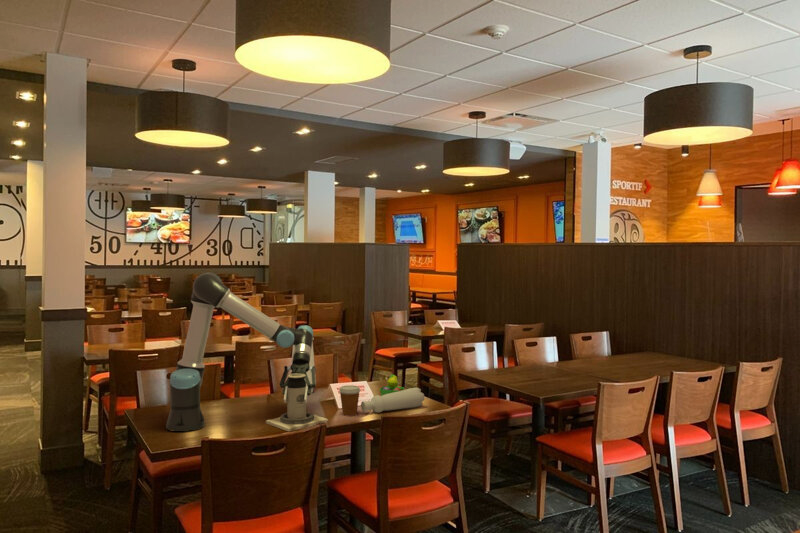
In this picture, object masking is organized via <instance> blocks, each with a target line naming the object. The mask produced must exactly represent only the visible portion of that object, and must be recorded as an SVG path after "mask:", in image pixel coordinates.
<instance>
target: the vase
mask: <svg viewBox="0 0 800 533" xmlns="http://www.w3.org/2000/svg"><path fill="white" fill-rule="evenodd" d="M314 339H315V338H314V337H313V340H312V347H311V355H310V363H309V366H310V367H313V366H315V354H314V342H313V341H314ZM294 349H295V345H292V351H291V352H292V353H291V362H292V361H293V356H294ZM291 365H292V363H291ZM291 365H290V366H291ZM315 367H316V366H315ZM291 372H292V370H291V369H290V373H291ZM306 374H307V376H308V379H309V382H310V384H312V373H311V371H310V369H309V370H308V371H307V372H306ZM316 378H317V377H316V376H315V384H316V385H317V382H316ZM305 381H306V380H305ZM306 386H307V383H306ZM312 393H314V388H312V389H311V393H310V394H312Z"/></svg>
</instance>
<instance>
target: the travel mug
mask: <svg viewBox="0 0 800 533" xmlns="http://www.w3.org/2000/svg"><path fill="white" fill-rule="evenodd" d="M305 376H306V375H305V374H301V373H295V374H291V373H290V374H289V373H288V375H287V379H288V378H289V381H288V382H287V403H286V404H287V409H286V411H287V412H286V413H287V417H288V418H290V419H302V418H304V417H306V412H307V403H305V400H304V398H305V390H306V381H305Z"/></svg>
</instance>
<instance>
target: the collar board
mask: <svg viewBox="0 0 800 533" xmlns="http://www.w3.org/2000/svg"><path fill="white" fill-rule="evenodd" d="M327 421H328V422H329V419H328V418H326V417H322V416H319V415H317V414H314V413H313V412H309V411H306V417H304V418H302V419H290V418H288V417H287V412H285V413H282V414H281V415H279V417H276V418H272V419H267V420H265V424H267V425H270V426H272V427H274V428H278V429H280V430H283V431H286V432H289V433H290V432H294V431H298V430H301V429H305V428H310V427H313V425H314V426H317V425H316V424H318V423H322V424H324V423H323V422H326V423H328V422H327ZM318 425H319V424H318Z"/></svg>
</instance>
